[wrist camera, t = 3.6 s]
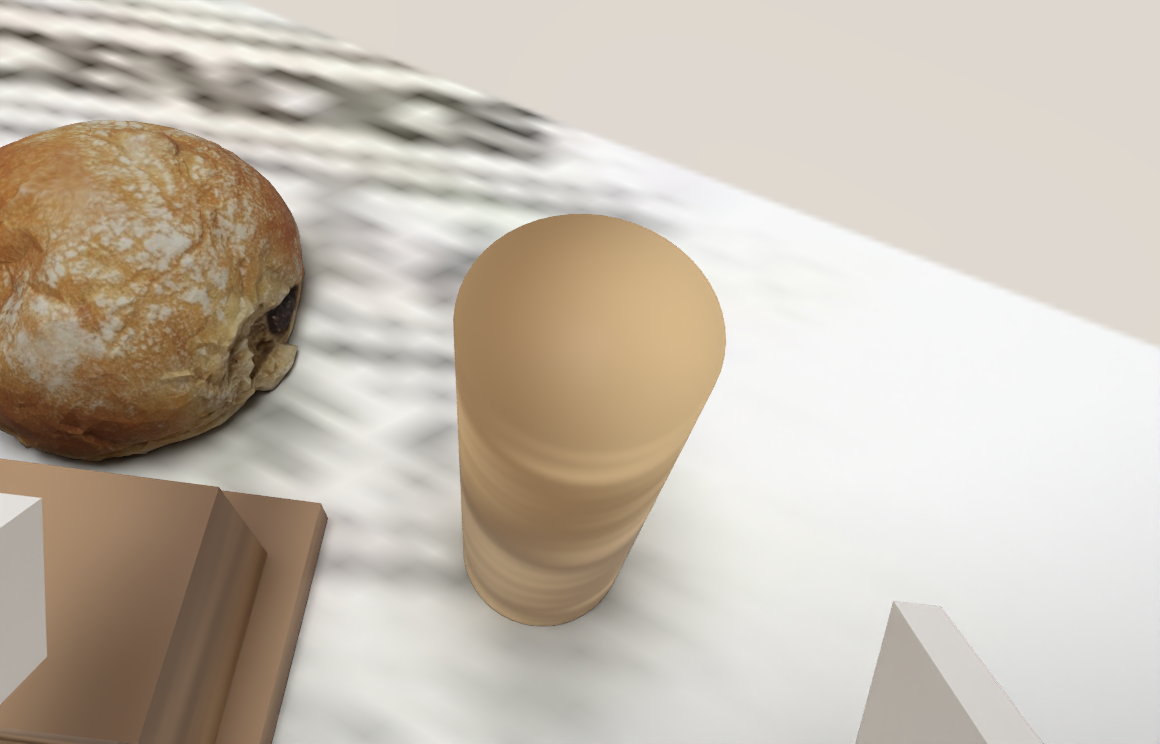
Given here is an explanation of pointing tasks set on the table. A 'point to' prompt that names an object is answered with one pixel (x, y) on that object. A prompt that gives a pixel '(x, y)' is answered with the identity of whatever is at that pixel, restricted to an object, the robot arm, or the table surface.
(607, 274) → the post
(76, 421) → the bread roll
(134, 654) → the base
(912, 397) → the table surface
